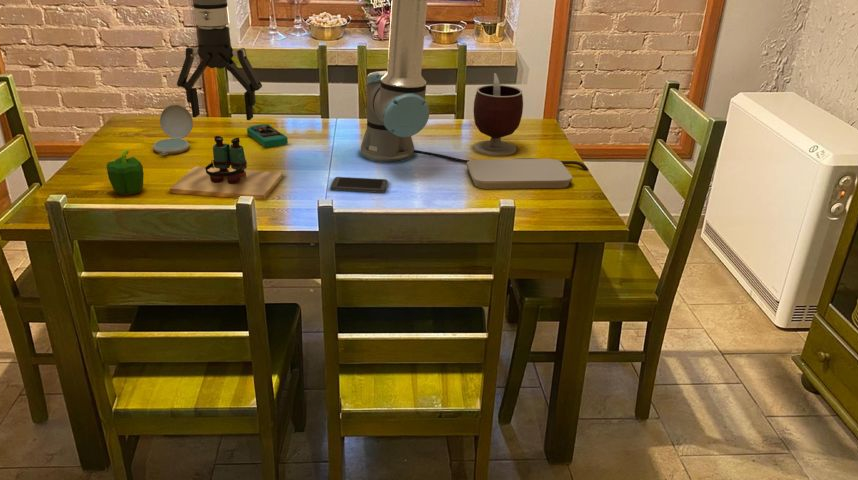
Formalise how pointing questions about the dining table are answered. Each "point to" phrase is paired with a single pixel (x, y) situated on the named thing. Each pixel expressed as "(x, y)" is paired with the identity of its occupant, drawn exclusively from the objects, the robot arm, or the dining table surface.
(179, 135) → the grey compact mirror
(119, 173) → the bell pepper
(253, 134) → the digital multimeter
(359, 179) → the cell phone
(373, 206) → the dining table surface
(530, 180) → the tablet
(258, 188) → the serving board
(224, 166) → the binoculars
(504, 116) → the mate gourd
